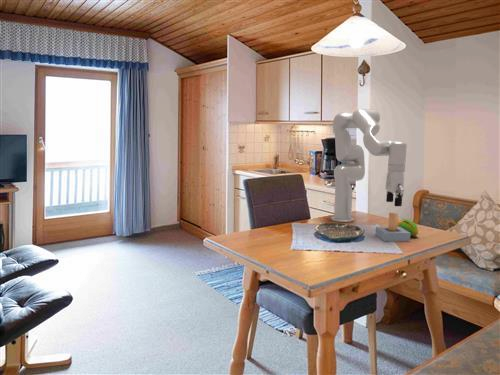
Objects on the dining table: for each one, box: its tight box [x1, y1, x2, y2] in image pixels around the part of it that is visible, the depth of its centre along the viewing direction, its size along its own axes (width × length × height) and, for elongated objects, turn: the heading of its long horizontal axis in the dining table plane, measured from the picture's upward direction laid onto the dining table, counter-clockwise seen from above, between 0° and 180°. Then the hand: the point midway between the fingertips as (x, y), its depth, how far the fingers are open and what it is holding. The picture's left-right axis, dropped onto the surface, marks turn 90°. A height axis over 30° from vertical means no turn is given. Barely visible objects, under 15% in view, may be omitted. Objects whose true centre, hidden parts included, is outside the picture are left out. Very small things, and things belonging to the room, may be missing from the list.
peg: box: [387, 212, 399, 232], centre depth 203 cm, size 4×4×12 cm
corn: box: [397, 218, 419, 237], centre depth 212 cm, size 7×8×20 cm
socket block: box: [375, 226, 411, 243], centre depth 203 cm, size 12×12×4 cm
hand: (393, 203), depth 201 cm, fingers open, 9 cm apart
